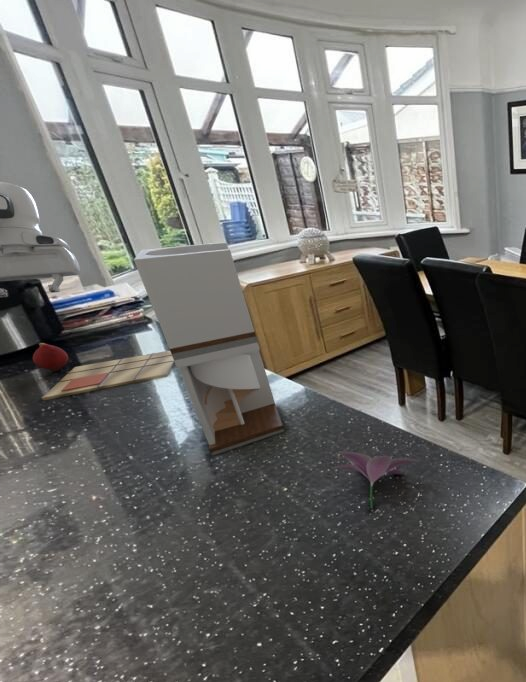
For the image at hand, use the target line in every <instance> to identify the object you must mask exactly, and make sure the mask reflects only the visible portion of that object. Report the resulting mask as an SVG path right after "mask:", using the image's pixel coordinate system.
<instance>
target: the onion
mask: <svg viewBox="0 0 526 682" xmlns="http://www.w3.org/2000/svg"><path fill="white" fill-rule="evenodd" d="M38 345H39V347H38V348H37V349H36V350H35V351H34V353H33V355H32V362H33V363H34V364H35V366H37V367H38V368H41V369H44V370H49V371H52V372H58V371H60V370H62V368H63V367H65V365H66V364H67V362H69V356H68V353H67V352H66V351H65V350H64V349H62V348H61V347H58V346H55V345H51V344H47V343H44V342H39V343H38Z"/></svg>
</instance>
